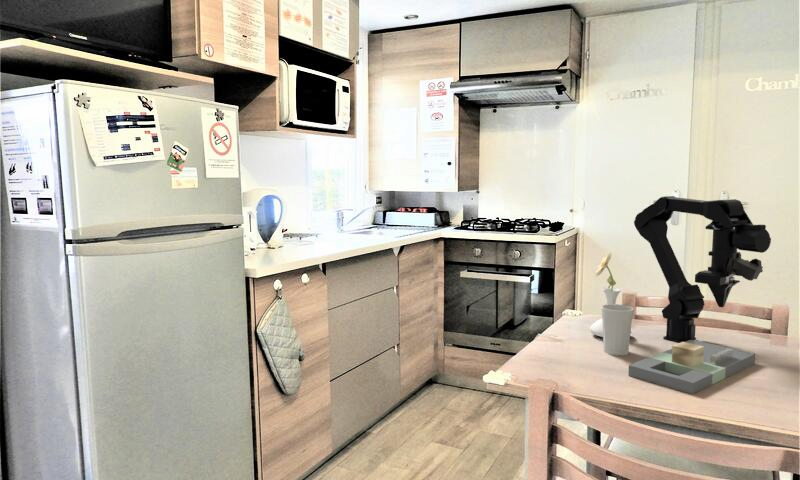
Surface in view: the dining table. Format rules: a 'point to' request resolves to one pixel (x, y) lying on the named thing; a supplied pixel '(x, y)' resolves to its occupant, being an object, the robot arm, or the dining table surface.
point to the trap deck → (690, 369)
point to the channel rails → (718, 355)
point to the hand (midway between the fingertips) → (721, 307)
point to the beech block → (687, 354)
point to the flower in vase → (609, 292)
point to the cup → (616, 328)
